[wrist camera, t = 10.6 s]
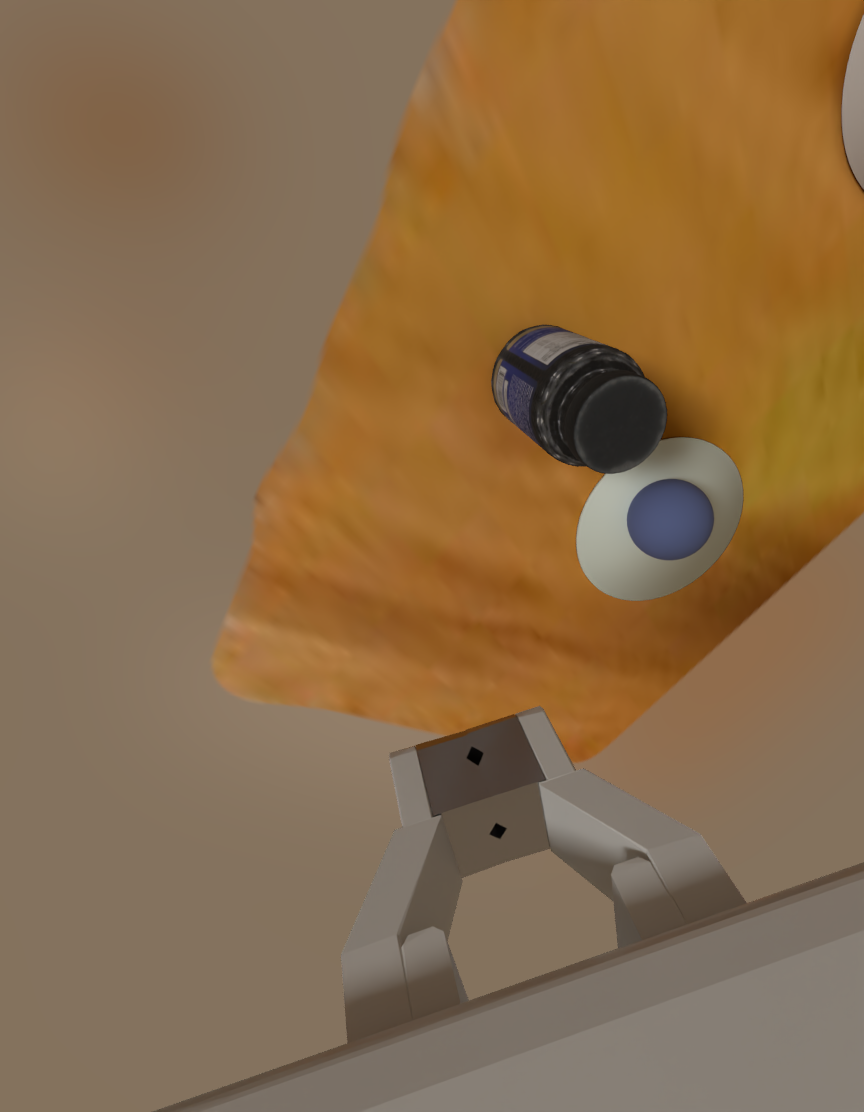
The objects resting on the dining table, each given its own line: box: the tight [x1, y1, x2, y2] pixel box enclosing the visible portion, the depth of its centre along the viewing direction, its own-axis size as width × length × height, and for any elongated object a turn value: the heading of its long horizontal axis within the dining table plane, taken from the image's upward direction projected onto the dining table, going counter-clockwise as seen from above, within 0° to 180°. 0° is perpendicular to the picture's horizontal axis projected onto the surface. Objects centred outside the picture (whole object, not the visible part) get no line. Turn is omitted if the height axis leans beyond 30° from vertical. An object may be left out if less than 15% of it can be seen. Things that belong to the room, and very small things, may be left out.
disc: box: [576, 437, 743, 601], centre depth 45 cm, size 13×13×1 cm
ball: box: [627, 479, 714, 560], centre depth 42 cm, size 6×6×6 cm
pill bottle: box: [491, 325, 667, 474], centre depth 33 cm, size 6×6×11 cm
